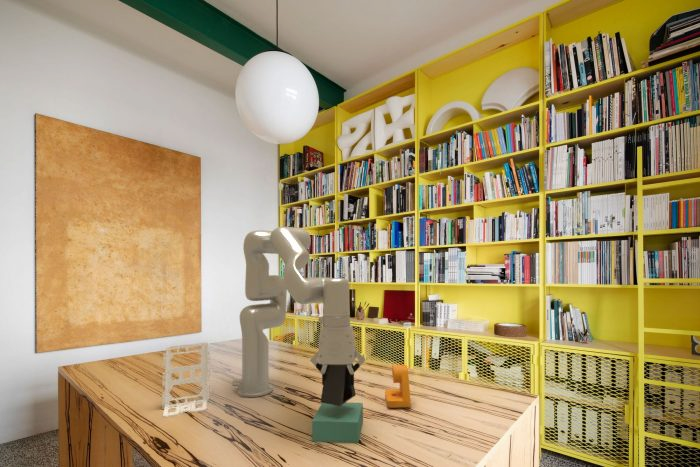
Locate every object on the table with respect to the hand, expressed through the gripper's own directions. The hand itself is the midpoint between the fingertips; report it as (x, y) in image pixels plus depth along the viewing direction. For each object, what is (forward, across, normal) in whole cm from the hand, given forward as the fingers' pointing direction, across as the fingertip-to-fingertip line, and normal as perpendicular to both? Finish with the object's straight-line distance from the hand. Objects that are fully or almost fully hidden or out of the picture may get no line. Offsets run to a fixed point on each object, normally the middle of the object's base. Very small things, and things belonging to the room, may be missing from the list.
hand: (338, 387), depth 97 cm
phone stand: (+3, 0, 0) cm, 3 cm away
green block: (+11, 0, 0) cm, 11 cm away
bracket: (+12, +16, +20) cm, 28 cm away
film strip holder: (+12, -54, +14) cm, 57 cm away
